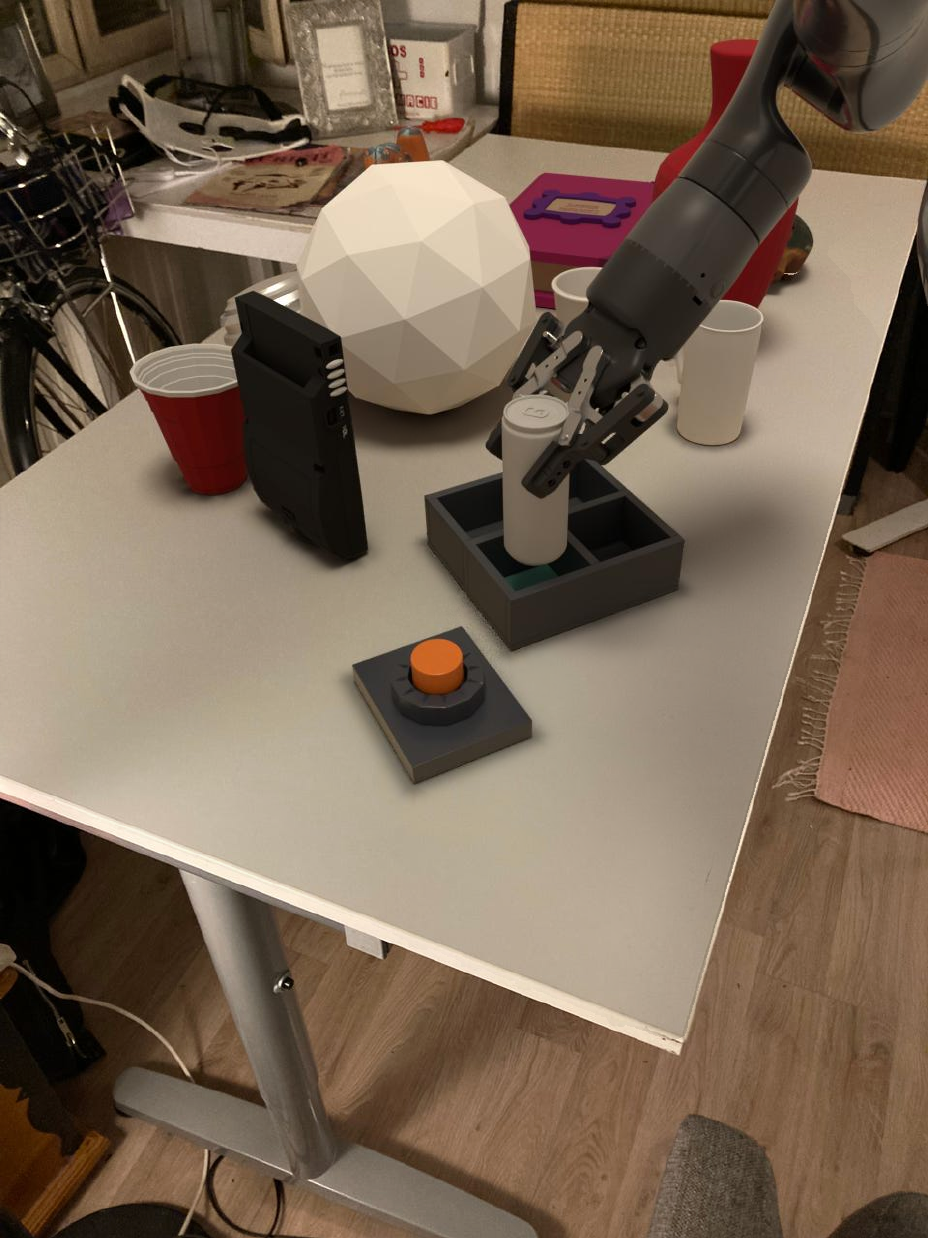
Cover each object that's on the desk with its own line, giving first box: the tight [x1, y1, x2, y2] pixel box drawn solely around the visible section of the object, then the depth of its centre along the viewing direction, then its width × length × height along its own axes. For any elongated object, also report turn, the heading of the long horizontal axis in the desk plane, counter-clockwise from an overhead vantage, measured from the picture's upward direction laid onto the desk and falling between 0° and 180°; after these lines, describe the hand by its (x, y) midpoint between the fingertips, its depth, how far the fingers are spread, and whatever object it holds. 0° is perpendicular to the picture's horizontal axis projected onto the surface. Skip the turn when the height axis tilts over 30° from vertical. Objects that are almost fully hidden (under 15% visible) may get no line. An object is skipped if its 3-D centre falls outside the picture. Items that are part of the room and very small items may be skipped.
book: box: [508, 172, 655, 310], centre depth 127 cm, size 21×28×8 cm
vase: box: [652, 38, 800, 310], centre depth 102 cm, size 15×15×30 cm
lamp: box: [219, 159, 538, 415], centre depth 99 cm, size 23×35×24 cm, turn 70°
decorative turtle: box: [771, 213, 814, 284], centre depth 123 cm, size 10×15×8 cm, turn 171°
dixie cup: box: [552, 267, 602, 323], centre depth 104 cm, size 8×8×10 cm
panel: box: [351, 626, 533, 784], centre depth 69 cm, size 11×9×4 cm
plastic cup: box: [129, 343, 248, 496], centre depth 90 cm, size 11×11×12 cm
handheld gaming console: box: [231, 291, 369, 561], centre depth 80 cm, size 12×5×20 cm, turn 42°
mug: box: [675, 300, 764, 446], centre depth 95 cm, size 10×7×12 cm, turn 24°
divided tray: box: [423, 459, 686, 652], centre depth 80 cm, size 15×15×5 cm
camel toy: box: [363, 125, 431, 172], centre depth 127 cm, size 25×13×17 cm, turn 157°
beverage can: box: [501, 394, 569, 566], centre depth 71 cm, size 5×5×12 cm
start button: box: [410, 639, 464, 695], centre depth 67 cm, size 4×4×2 cm
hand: (513, 472), depth 69 cm, fingers closed on beverage can, 5 cm apart
